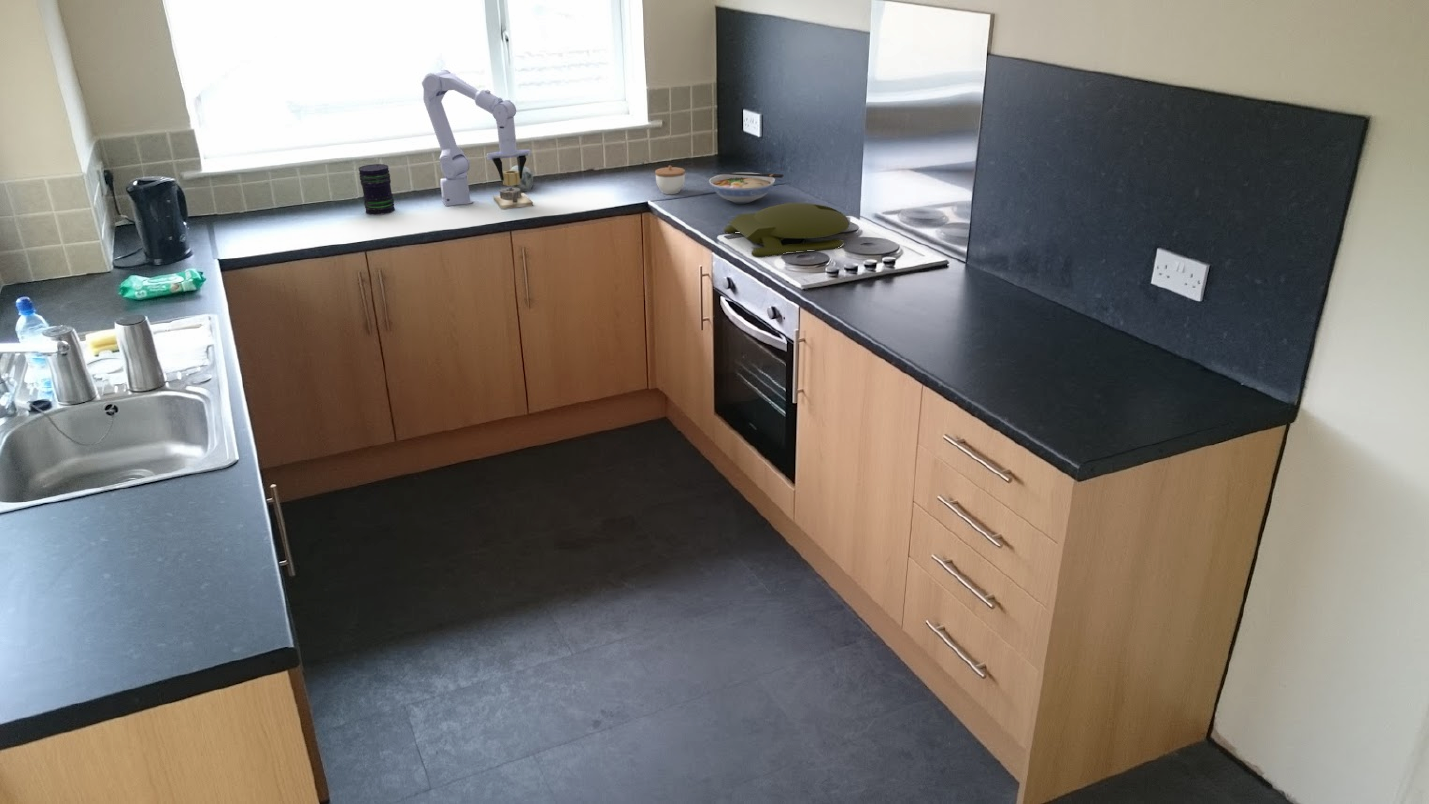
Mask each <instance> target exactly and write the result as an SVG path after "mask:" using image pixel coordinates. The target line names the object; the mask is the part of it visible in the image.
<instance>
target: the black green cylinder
mask: <svg viewBox="0 0 1429 804" xmlns="http://www.w3.org/2000/svg"><path fill="white" fill-rule="evenodd" d="M358 172H359V180H360V185H361V187H362V192H363V193H362V194H363V196H362V197H363V205H364V209H365V214H367V215H372V216H377V215H379V216H380V215H386V214H390V213H393V212H395V211H396V208H395V204H394V203H395V200H394V194H393V193H392V188H391V187H392V186H391V173H390V170H389V165H387V164H382V163H381V164H380V163H378V164H377V163H375V164H367V165H363V166H359V167H358Z"/></svg>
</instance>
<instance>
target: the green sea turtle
mask: <svg viewBox="0 0 1429 804" xmlns="http://www.w3.org/2000/svg"><path fill="white" fill-rule="evenodd" d="M849 227H850V221H849V219H848V217H847V216H846V215H845V214H843V213H842V212H840V211H839V210H837V209H835V208H832V207H830V206H827V205H821V204H816V203H811V202H810V203H809V202H789V203H788V202H787V203H781V204H780V203H779V204H777V205H776V204H775V205H771V206H768V207H765V208H763V209H760V210H758V211H757V212H749V213H740V214H738V215H737V216H735V217H734V218H733V219H732V220H730V221H729V222H728V225H725V227H724V229H723V230H724V232H725V233H726V232H728V233H727V234H729V233H735V232H740V233H739V234H741V235H743V236H744V238H746V239H748V240H749V241H751V242H753V243H754V244H756V245H759V246H760V245H762V247H761V246H760V247H756V248H754V249H752V251H750V252H751V255H752V256H753V257H755V258H766V257H765V256H768V257H773V256H772V255H777V256H780V255H779V254H783V253H786V252H796V251H807V250H815V251H814V252H818V251H827V250H836V249H835V248H838V247H840V246H841V245H842V244H843V243H845V242H844V241H843V240H842V239H838V238H834V239H832V238H831V239H825V240H815V241H808V242H807V241H805V242H797V243H796V242H795V243H789V244H782V241H783V240H784V239H814V238H825V237H830V236H833V235H837V234H840V233H843V232H845V231H847V229H848V228H849ZM838 249H839V248H838Z"/></svg>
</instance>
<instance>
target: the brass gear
mask: <svg viewBox="0 0 1429 804" xmlns="http://www.w3.org/2000/svg"><path fill="white" fill-rule="evenodd" d="M503 177H504V180H503V181H502V182H503V183H502V184H503V185H504V186H506V187H511V186H514V185H519V184H520V175H519V171H516V170H514V171H513V170H512V171H511V170H510V169H509V170H503Z"/></svg>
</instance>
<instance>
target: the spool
mask: <svg viewBox="0 0 1429 804" xmlns="http://www.w3.org/2000/svg"><path fill="white" fill-rule="evenodd" d="M509 170H511V171H512V170H513V171H514V170H516V171H518V164H516V165H514V166H511V168H510V169H509ZM533 183H534V175H533V172H532V170H531V169H530V168H529V167H527V166H526V165H524V168H523V173H522V179H520V184H519V185H514V186H510V187H512V188H519V189H521V192H528V191H530V190H531V188H532V187H533Z"/></svg>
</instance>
